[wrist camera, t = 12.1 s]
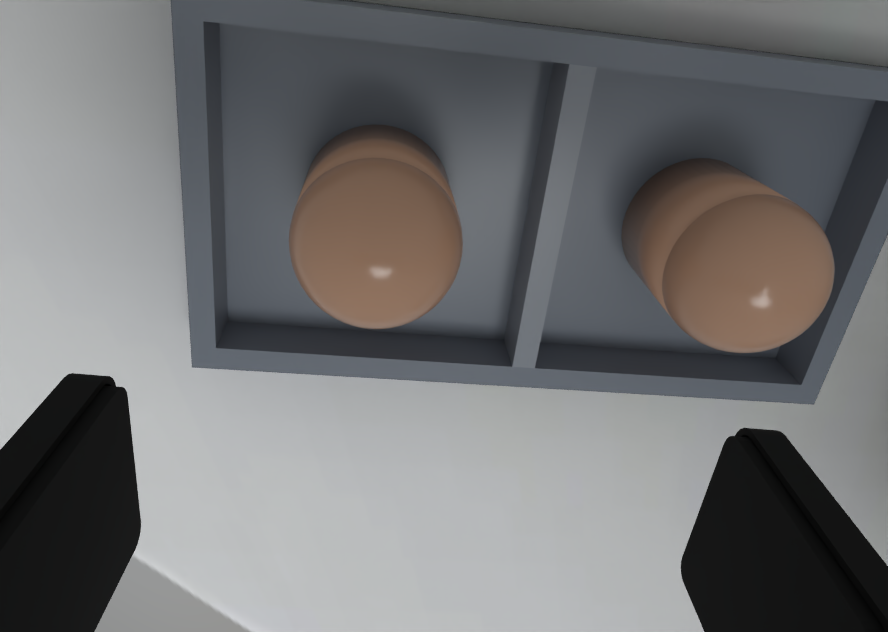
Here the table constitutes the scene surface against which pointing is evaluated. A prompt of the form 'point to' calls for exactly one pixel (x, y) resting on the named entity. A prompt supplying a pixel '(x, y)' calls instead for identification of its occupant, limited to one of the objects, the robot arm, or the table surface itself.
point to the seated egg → (728, 256)
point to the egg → (376, 228)
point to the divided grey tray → (508, 189)
